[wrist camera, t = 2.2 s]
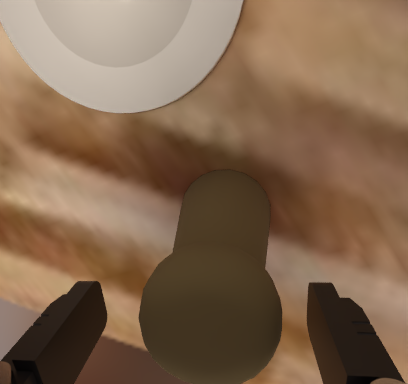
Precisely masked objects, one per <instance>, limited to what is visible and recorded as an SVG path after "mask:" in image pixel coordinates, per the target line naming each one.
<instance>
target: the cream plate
mask: <svg viewBox="0 0 408 384" xmlns="http://www.w3.org/2000/svg"><path fill="white" fill-rule="evenodd" d="M243 2H244V0H0V21H1V24H2V26H3V28H4V30H5V32H6V33H7V35H8V37H9V39H10V41H11V42H12V44H13V46H14V47H15V48H16V50H17V51H18V53H19V54H20V56H21V57H22V58H23V60H24V61H25V62H26V63H27V64H28V65H29V67H30V68H31V69H32V70H33V71H34V72H35V73H36V74H37V75H38V76H39V77H40V78H41V79H42V80H43V81H44V82H45V83H46V84H48V85H49V86H50V87H52V88H53V89H54V90H56V91H57V92H59V93H60V94H62V95H63V96H65V97H67V98H69V99H70V100H72V101H74V102H76V103H79V104H81V105H83V106H86V107H88V108H92V109H96V110H100V111H104V112H112V113H135V112H141V111H148V110H152V109H156V108H159V107H162V106H165V105H167V104H170V103H172V102H174V101H176V100H178V99H180V98H181V97H183V96H184V95H186V94H187V93H189V92H190V91H192V90H193V89H194V88H195V87H196V86H198V85H199V84H200V83H201V82H202V81H203V80H204V79H205V78H206V77H207V76H208V75H209V73H210V72H211V71H212V70H213V69H214V68H215V66H216V65H217V63H218V62H219V60H220V59H221V57H222V56H223V54H224V53H225V51H226V49H227V47H228V45H229V43H230V41H231V39H232V37H233V35H234V32H235V29H236V27H237V24H238V21H239V18H240V14H241V10H242V6H243Z"/></svg>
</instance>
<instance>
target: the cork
mask: <svg viewBox="0 0 408 384" xmlns="http://www.w3.org/2000/svg"><path fill="white" fill-rule="evenodd" d="M269 227H270V203H269V200H268V197H267V195H266V192H265V191H264V190H263V188H262V187H261V186H260V185H259V184H258V182H257V181H255V180H254V179H252V178H251V177H249V176H248V175H246V174H244V173H241V172H237V171H233V170H215V171H212V172H209V173H207V174H204V175H202V176H200V177H199V178H198V179H197V180H195V181H194V182H193V183H192V184H191V185H190V186H189V188H188V190H187V191H186V193H185V194H184V198H183V203H182V207H181V212H180V217H179V222H178V227H177V232H176V238H175V243H174V248H173V253H172V254H171V255H169V256H168V257H166V258H165V259H164V260H163V261H162V262H161V263H159V264H158V266H157V267H156V269H155V270H154V272H153V274H152V275H151V277H150V278H149V280H148V282H147V283H146V285H145V287H144V289H143V295H142V300H141V305H140V312H139V322H140V327H141V332H142V336H143V340H144V343H145V346H146V348H147V349H148V351H149V353H150V354H151V356H152V358H153V359H154V360H155V361H156V362H157V363H158V364H159V365H160V366H161V367H162V368H163V369H164V370H165V371H166V372H168V373H170V374H172V375H173V376H175V377H177V378H179V379H180V380H182V381H185V382H189V383H192V384H241V383H243V382H245V381H247V380H249V379H252V378H254V377H255V376H256V375H257V374H258V373H259V372H260V371H261V370H262V369H264V368H265V367H266V366H267V364H268V363H269V361H270V360H271V358H272V357H273V355H274V353H275V351H276V348H277V346H278V344H279V342H280V338H281V331H282V307H281V302H280V297H279V295H278V292H277V290H276V287H275V285H274V283H273V280H272V278H271V277H270V275H269V274H268V272H267V271H266V270H265V264H266V255H267V245H268V236H269Z"/></svg>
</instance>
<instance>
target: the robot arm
mask: <svg viewBox="0 0 408 384" xmlns="http://www.w3.org/2000/svg"><path fill="white" fill-rule="evenodd" d="M106 322H107V310H106V306H105V302H104V297H103V293H102V289H101V285H100V283H99V282H98V281H78V282H77V283H76V284H75V285H74V286H73V287H72V288H71V289H70V291H69V292H68V293H67V294H64V295H62V296H61V297H59V298H58V299H57V300H55V301H54V302H52V303H51V304H50V305H49V306H48V307H47V308H46V310H45V311H44V312H43V313H42V314H41V317H39V318H38V319H37V320H36V321H35V322H34V324H33V326H31V327H30V328H29V329H28V330H27V331H26V332H25V334H24V335H23V336H22V337H21V338H20V339H19V340H18V342H17V343H16V344H15V345H14V346H13V347H12V348H11V350H10V351H9V352H8V353H7V354H6V355H5V356H4V358H3V359H2V360H1V361H0V384H74V383H75V381H76V379H77V377H78V375H79V374H80V372H81V370H82V368H83V367H84V365H85V363H86V361H87V359H88V357H89V356H90V354H91V352H92V350H93V348H94V347H95V345H96V343H97V341H98V340H99V338H100V336H101V334H102V332H103V331H104V329H105V326H106ZM307 326H308V332H309V337H310V340H311V343H312V347H313V350H314V354H315V357H316V360H317V364H318V367H319V370H320V374H321V377H322V381H323V384H406V383H405V382H404V380H403V379H402V377H401V375H400V373H399V372H398V370H397V368H396V366H395V365H394V363H393V361H392V359H391V358H390V356H389V354H388V353H387V351H386V349H385V347H384V346H383V344H382V342H381V340H380V339H379V337H378V336H377V335H376V332H375V330H374V328H373V326H372V325H371V324H370V321H369V319H368V318H367V316H366V314H365V313H364V311H363V309H362V308H361V307H360V306H359V305H357V304H356V303H355V302H354V301H353V300H352V299H350V298H340V297H339V295H338V293H337V291H336V289H335V287H334V285H333V284H332V283H309V286H308V303H307Z"/></svg>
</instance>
